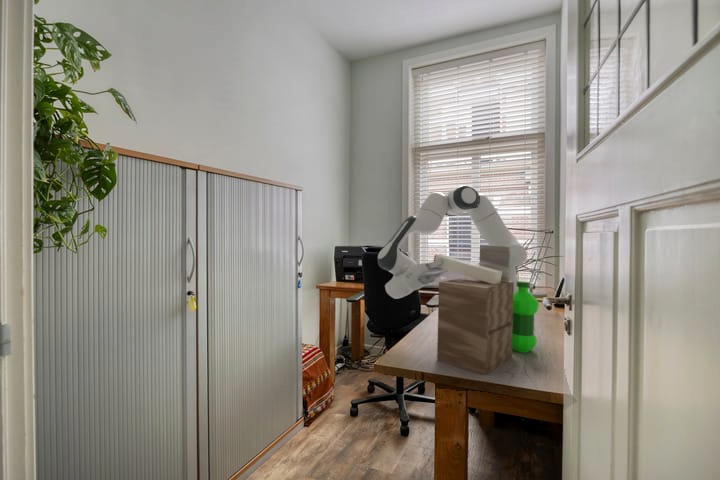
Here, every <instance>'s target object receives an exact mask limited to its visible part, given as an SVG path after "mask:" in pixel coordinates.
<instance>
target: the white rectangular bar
mask: <svg viewBox="0 0 720 480" xmlns="http://www.w3.org/2000/svg"><path fill="white" fill-rule="evenodd" d="M438 259H442V260H443V264H441V265H439V266H437V267H439V268H442V269H445V270H449V271H450V272H453V273H456V274H459V275H461V276H465V277H471V278H475V279H478V280H481V281H484V282H488V283H491V284H498V283H500V281H501V276H502V271H499V270H495V269H492V268H488V267H485V266H481V265H479V264H477V263H474V262H473V263H472V262H469V261H466V260H461V259H458V258H454V257H451V256H448V255H444V254H434V256H433V262H434V261H437V260H438ZM449 271H448V272H449Z"/></svg>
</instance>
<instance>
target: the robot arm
mask: <svg viewBox="0 0 720 480" xmlns="http://www.w3.org/2000/svg"><path fill="white" fill-rule="evenodd" d="M463 213H467V214H468V215H469V216H470V219H471V220H472V222H473V223H474V225H475V227H476V229H477V231H478V232H479V234H480V236H481V238H482V239H484V241H485V242H486V243H487V244H488V246H510V270H509V281H513V282H514V293H516V292H517V291H518V287H517V281H520V279H519V276H518V274H517V270H516V269H517V267H520V266H522V265H523V264H525V262H526V260H527V257H528V252H527V249H526V248H525V246H524V245H522V244H521V243H520V242H519V240H517V238H516V237H515V235H514V234H513V233H512V232H511V231H510V230H509V228H508V227H507V225H506V224H505V222H504V221H503V219H502V218H501V216H500V214H499V212H498V211H497V209H496V207H495V206H494V204H493V203H492V202H491V201H490V199H489V198H488V197H487V195H486V194H484V193H479V192H478V191H477V189H475V188H474V187H472V186H470V185H467V184H465V185H464V184H463V185H460V186H458V187H456V188H454V189H452V190H450V191H449V192H448V193H446V194H443V193H442V192H438V191H435V192H434V191H433V192H431V193H430V194H429V195H427V197H426V198H425V200H424V201H423V203H422V205H420V207H419V210H418V211H417V212H416V213H415V215H411V216H408V217H407V218H406V219H405V220H404V221H403V222H402V224H401V225H400V226H399V227H398V229H397V230H396V232H395V233H394V234H393V235H392V237H391V238H390V239H389V241H388V242H387V243H386V244H385V245H384V246H383V247H382V248H381V249H380V251H379V252H378V254H377V257H376V258H377V264H378V266H379V267H380V268H381V269H382V270H385V271H388V272H389V273H391V274H392V275H393V276H392V278H391V279H390V280H389V281H388V282H386V283H385V285H384V288H385V292H386V294H387V295H388V296H390V297H391V298H393V299H396V300H397V299H398V300H399V299H401V298H404V297H406V296H408V295H410V294H411V293H413V292H414V291H417V290H418V291H419V289H420V290H421V289H422V288H424V287H425V286H427V285H428V284H430V283H432V282H436V280H437V278H439V277H441V276H442V275H444V274H446V273H448V272H449V270H445V269H442V268H439V267H437V266H439V265H441V264H443V260H442V259H438V260H437V261H434V260H433V261H431V262H422V263H421V262H420V263H418V262H417V261H415V260H414V259H413V258H411V257H410V256H408V255H406V254H405V253H403V252H402V251H401V250H400V247H402V245H403V243H404V242H405V240H407V238H408V237H409V236H410V234H411V233H415V234H416V233H417V234H420V235H421V234H422V235H431V234H434V233H435V232H437V231H438V229H439V228H440V226H441V224H442V222H443V220H444V218H445V216H446V217H447V216H448V217H454V216H457V215H460V214H463ZM514 293H513V294H514Z"/></svg>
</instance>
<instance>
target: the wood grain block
mask: <svg viewBox="0 0 720 480" xmlns="http://www.w3.org/2000/svg"><path fill="white" fill-rule="evenodd" d="M478 265H481V266H485V267H488V268H492V269H495V270H499V271H502V276H501V281H500V283H498V284H491V283H488V282H484V281H481V280H478V279H475V278H471V277H468V276H465V277H462V278H455V279H449V280H444V281H439V282H438V301H437V303H438V304H437V305H438V306H437V309H438V311H437V349H436V352H437V353H436V357H437V358H436V361H437V362H439V363H444V364H447V365H450V366H453V367H457V368H460V369H463V370H466V371H469V372H473V373H476V374H479V375H483V376H485V375H487V374H488V373H489V372H491V371H493V370H494V369H496V368H497V367H499V366H500V365H502V364H503V363H505V362H507V361H508V360H510V359H511V358H512V356H513V348H512V331H513V293H514V282H513V281H509V270H510V246H490V245H485V244H484V245H479V264H478Z"/></svg>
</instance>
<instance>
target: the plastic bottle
mask: <svg viewBox="0 0 720 480" xmlns="http://www.w3.org/2000/svg"><path fill="white" fill-rule="evenodd" d="M517 287H518V291H517V292H516V293H514V294H513V331H512V350H514V351H515V352H518V353H525V354H526V353H529V352H531V351H532V350H533V349H534V348H535V347H536V345H537V343H538V342H537V337H536V335H535V314H536V313H537V312H538V311H539V305H540V303H539V301H538V299H537V298H536V297H535V296H534V295H533V294H532V293H530V291H529V288H530V281H527V280H526V281H524V280H519V281H517Z"/></svg>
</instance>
